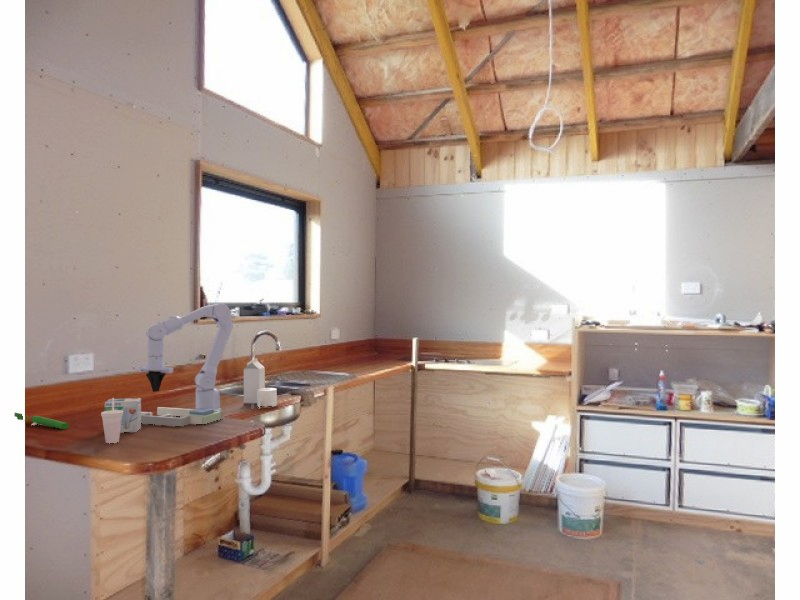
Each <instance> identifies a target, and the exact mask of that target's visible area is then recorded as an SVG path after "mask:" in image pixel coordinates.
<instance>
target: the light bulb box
mask: <svg viewBox="0 0 800 600" xmlns="http://www.w3.org/2000/svg"><path fill="white" fill-rule="evenodd" d="M141 404H142V398H141V397H134V398H133V397H132V398H114V410H122V411H123V415H122V421H121V429H120V434H125V433H124V432H130V433H138V432H139V431H140V430H141V429H142V424H141V412H142V405H141ZM110 410H112V398H110V399H108V400H106V401H105V402H104V411H110ZM139 429H140V430H139ZM138 430H139V431H138ZM137 431H138V432H137Z"/></svg>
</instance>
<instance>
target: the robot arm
mask: <svg viewBox="0 0 800 600" xmlns="http://www.w3.org/2000/svg"><path fill="white" fill-rule="evenodd" d="M204 317H205V318H212V320H214V321H215V323H216V324H217V327H218V330H217V332H216V335H215V337H214V340H213V343H212V344H211V346H210V350H209V352H208V355H207V357H206V360H205V362H204V364H203V366H201V368H200V371H199V372H198V373H197V374H196V376H195V377H194V383H195V385H196V387H195V409H200V408H205V409H214V410H220V411H223V410H222V408H221V405H220V404H221V403H220V402H221V399H220V398H221V397H220V395H221V394H220V391H219V389H217V388H216V387H215V385H216V382H217V381H216V380H217V379H216V378H217V377H216V376H217V374H218V366H219V364H220V361H221V359H222V356H223V353H224V351H225V348H226V346H227V344H228V341H229V339H230V335H231V333H232V332H233V331H232V330H233V327H234V325H233V320H232V318H233V317H232V311H231V309H230V308H229V306H228V305H227V304H226V303H221V302H220V303H218V302H215V303H212V304H207V305H205V306H202V307H199V308H197V309H195V310H193V311H191V312H189V313H186V314H184V315H183V316H179V315H175V316H174V315H170V316H169V318H168V319H165V320H162V321H159V320H158V321H157V324H152V325H150V326H148V328H147V330H146V336H147V337H148V338H147V366H139V367H138V372H139V373H146V374H145V376H146V378H147V379H148V381H149V383H150V385H151V389H152V390H151V391H152V392H153V393H154V392H160V388H161V384H162V382H163V379H164V378H165V376H166V374H173V373H174V367H170V366H169V367H167V366H165V354H164V352H165V349H164V348H165V347H164V346H165V345H164V337H165V336H169V335H171V334H173V333H176V332H179V331H181V330H182V329H183V328H184V326H185V325H186V324H188V323H192V322H194V321H196V320H199V319H201V318H204Z"/></svg>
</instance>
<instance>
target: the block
mask: <svg viewBox="0 0 800 600" xmlns="http://www.w3.org/2000/svg"><path fill="white" fill-rule="evenodd" d="M195 409H196V408H195ZM212 413H214V409H205V408H200V409H196V410H192V411H190V414H192V415H203V416H205V415H209V414H212Z"/></svg>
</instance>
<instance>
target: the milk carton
mask: <svg viewBox="0 0 800 600" xmlns="http://www.w3.org/2000/svg"><path fill="white" fill-rule="evenodd" d="M265 370H266V367H265V366H264V365H263V364H262V363H260V361H259V360H258V358H257V357H256V358H253V359H251V360H250V361H249V362H247V363H246V367H245V368H243V404H257V389H261V388H266V375H265V374H266V371H265Z"/></svg>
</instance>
